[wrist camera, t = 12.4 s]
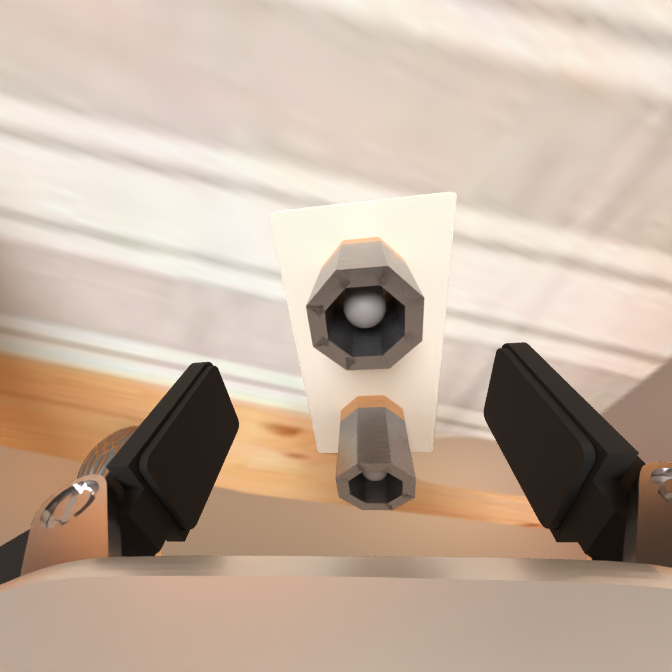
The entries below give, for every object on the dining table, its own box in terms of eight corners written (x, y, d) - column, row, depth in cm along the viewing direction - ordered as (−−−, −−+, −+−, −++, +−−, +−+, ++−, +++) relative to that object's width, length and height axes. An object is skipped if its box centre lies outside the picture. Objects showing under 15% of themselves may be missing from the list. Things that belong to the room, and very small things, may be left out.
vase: (135, 408, 31) (63, 482, 24) (186, 442, 34) (135, 521, 26) (106, 433, 34) (32, 508, 26) (155, 463, 36) (101, 540, 28)
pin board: (274, 211, 20) (231, 229, 13) (449, 191, 19) (500, 200, 12) (319, 441, 32) (309, 512, 25) (429, 440, 30) (449, 515, 24)
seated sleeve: (339, 396, 26) (333, 463, 20) (402, 394, 25) (416, 463, 19) (345, 439, 29) (341, 509, 23) (402, 438, 28) (413, 510, 22)
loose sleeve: (318, 242, 19) (300, 273, 13) (404, 233, 19) (426, 262, 13) (328, 318, 22) (317, 371, 16) (403, 313, 21) (421, 367, 15)
